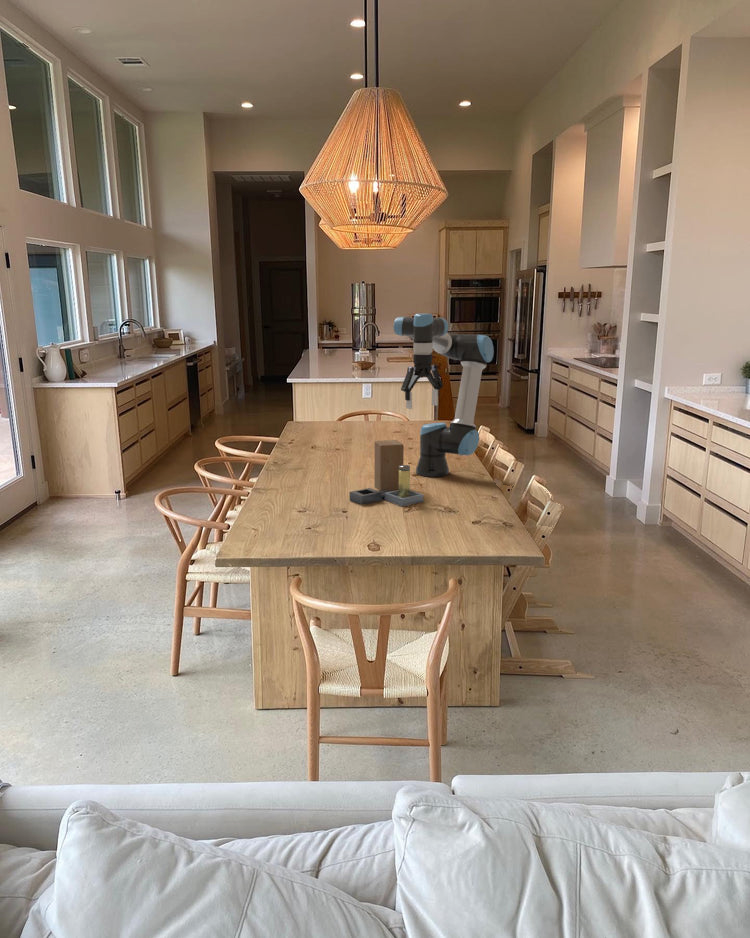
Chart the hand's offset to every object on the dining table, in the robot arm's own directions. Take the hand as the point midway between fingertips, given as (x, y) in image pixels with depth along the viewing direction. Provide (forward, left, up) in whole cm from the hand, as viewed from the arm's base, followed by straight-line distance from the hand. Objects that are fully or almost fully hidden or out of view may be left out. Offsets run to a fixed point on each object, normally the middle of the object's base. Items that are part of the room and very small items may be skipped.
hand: (422, 406), depth 295 cm
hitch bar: (+20, -6, -36) cm, 42 cm away
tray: (+12, +3, -36) cm, 38 cm away
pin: (+12, +3, -36) cm, 38 cm away
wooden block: (+5, -15, -37) cm, 40 cm away
